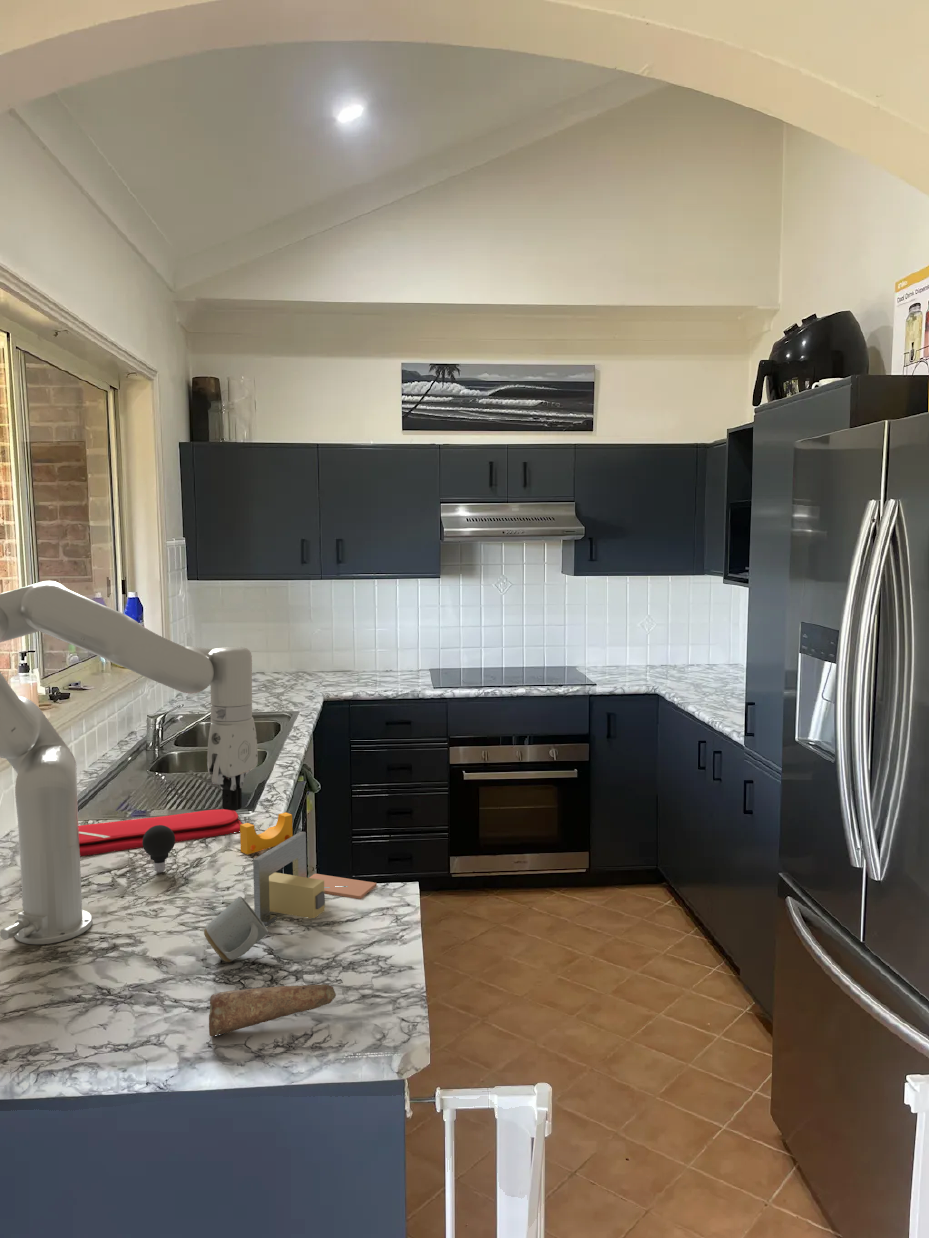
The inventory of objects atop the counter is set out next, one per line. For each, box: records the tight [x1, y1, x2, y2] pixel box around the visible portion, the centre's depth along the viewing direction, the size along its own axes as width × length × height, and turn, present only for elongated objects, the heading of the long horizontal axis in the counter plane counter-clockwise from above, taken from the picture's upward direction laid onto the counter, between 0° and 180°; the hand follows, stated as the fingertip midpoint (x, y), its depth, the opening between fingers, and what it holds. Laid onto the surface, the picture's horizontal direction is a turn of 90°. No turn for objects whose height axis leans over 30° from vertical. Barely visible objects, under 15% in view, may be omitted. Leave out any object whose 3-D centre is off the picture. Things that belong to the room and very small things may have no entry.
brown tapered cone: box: [208, 984, 337, 1037], centre depth 127 cm, size 6×18×6 cm, turn 112°
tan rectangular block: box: [269, 871, 326, 919], centre depth 165 cm, size 4×12×6 cm, turn 68°
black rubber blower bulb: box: [142, 825, 176, 874], centre depth 184 cm, size 6×6×10 cm
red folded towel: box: [78, 808, 243, 857], centre depth 207 cm, size 16×41×4 cm, turn 116°
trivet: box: [308, 873, 377, 900], centre depth 176 cm, size 7×14×1 cm, turn 69°
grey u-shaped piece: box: [252, 831, 308, 927], centre depth 166 cm, size 16×4×12 cm, turn 159°
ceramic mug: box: [203, 895, 269, 963], centre depth 145 cm, size 11×8×8 cm
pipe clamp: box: [239, 811, 294, 855], centre depth 200 cm, size 12×4×6 cm, turn 137°
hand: (232, 808), depth 168 cm, fingers closed
